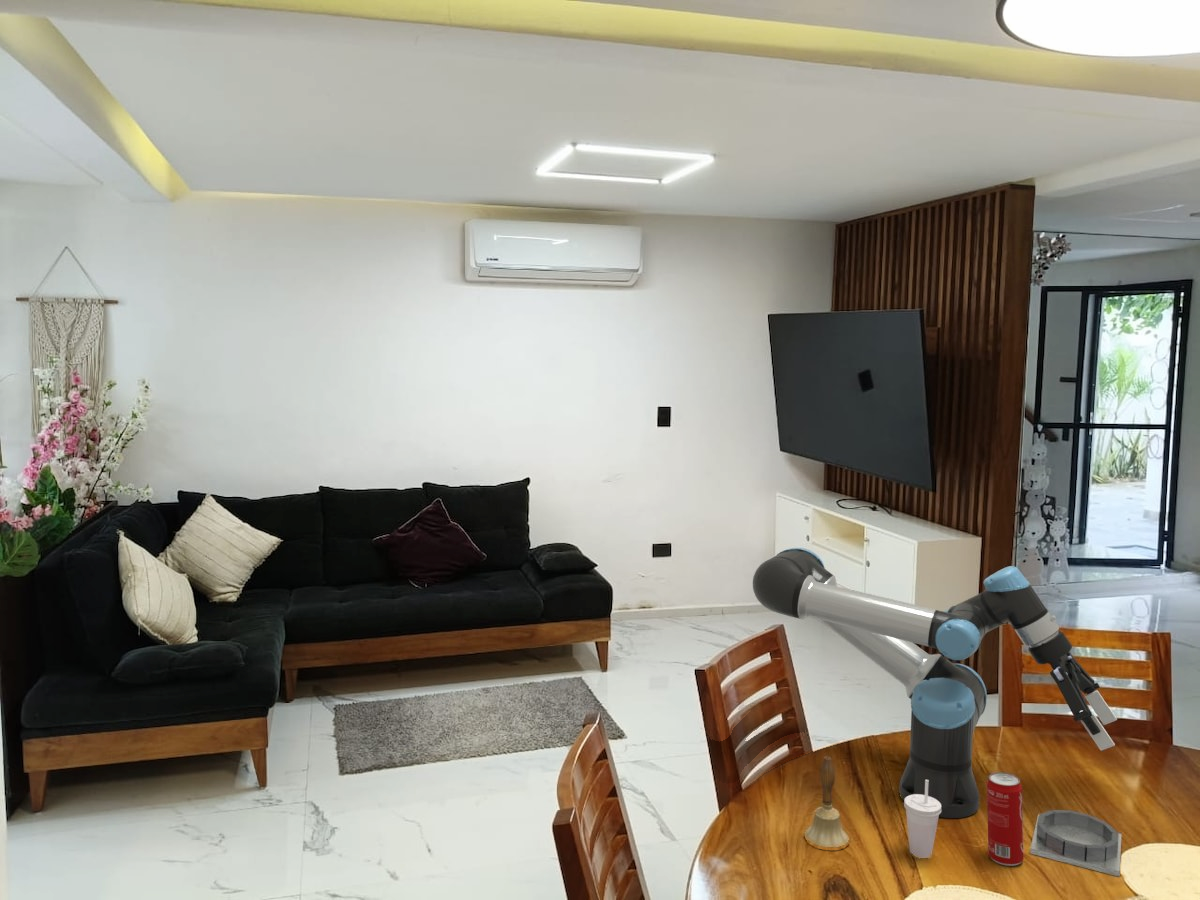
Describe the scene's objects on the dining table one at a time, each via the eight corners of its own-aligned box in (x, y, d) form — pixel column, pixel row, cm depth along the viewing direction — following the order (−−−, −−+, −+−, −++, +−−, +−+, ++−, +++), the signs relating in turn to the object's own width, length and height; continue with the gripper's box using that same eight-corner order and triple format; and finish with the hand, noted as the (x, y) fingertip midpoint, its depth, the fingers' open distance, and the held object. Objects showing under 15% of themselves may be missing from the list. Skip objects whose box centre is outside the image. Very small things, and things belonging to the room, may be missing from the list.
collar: (1030, 853, 163) (1031, 835, 163) (1037, 819, 175) (1038, 801, 175) (1119, 876, 156) (1120, 857, 156) (1121, 839, 168) (1122, 821, 168)
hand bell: (824, 856, 163) (827, 771, 161) (794, 834, 170) (796, 753, 168) (859, 844, 166) (862, 761, 165) (828, 823, 174) (830, 744, 172)
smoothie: (935, 867, 159) (938, 791, 157) (897, 856, 162) (900, 782, 161) (942, 850, 164) (946, 776, 163) (906, 840, 168) (909, 768, 166)
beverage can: (1026, 869, 158) (1031, 788, 157) (987, 865, 160) (991, 784, 158) (1018, 851, 164) (1022, 772, 162) (980, 847, 165) (984, 768, 164)
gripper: (1055, 648, 169) (1126, 751, 165) (1066, 614, 191) (1129, 705, 186) (1019, 665, 173) (1087, 766, 169) (1033, 630, 194) (1094, 719, 190)
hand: (1109, 734), depth 177 cm, fingers open, 13 cm apart
